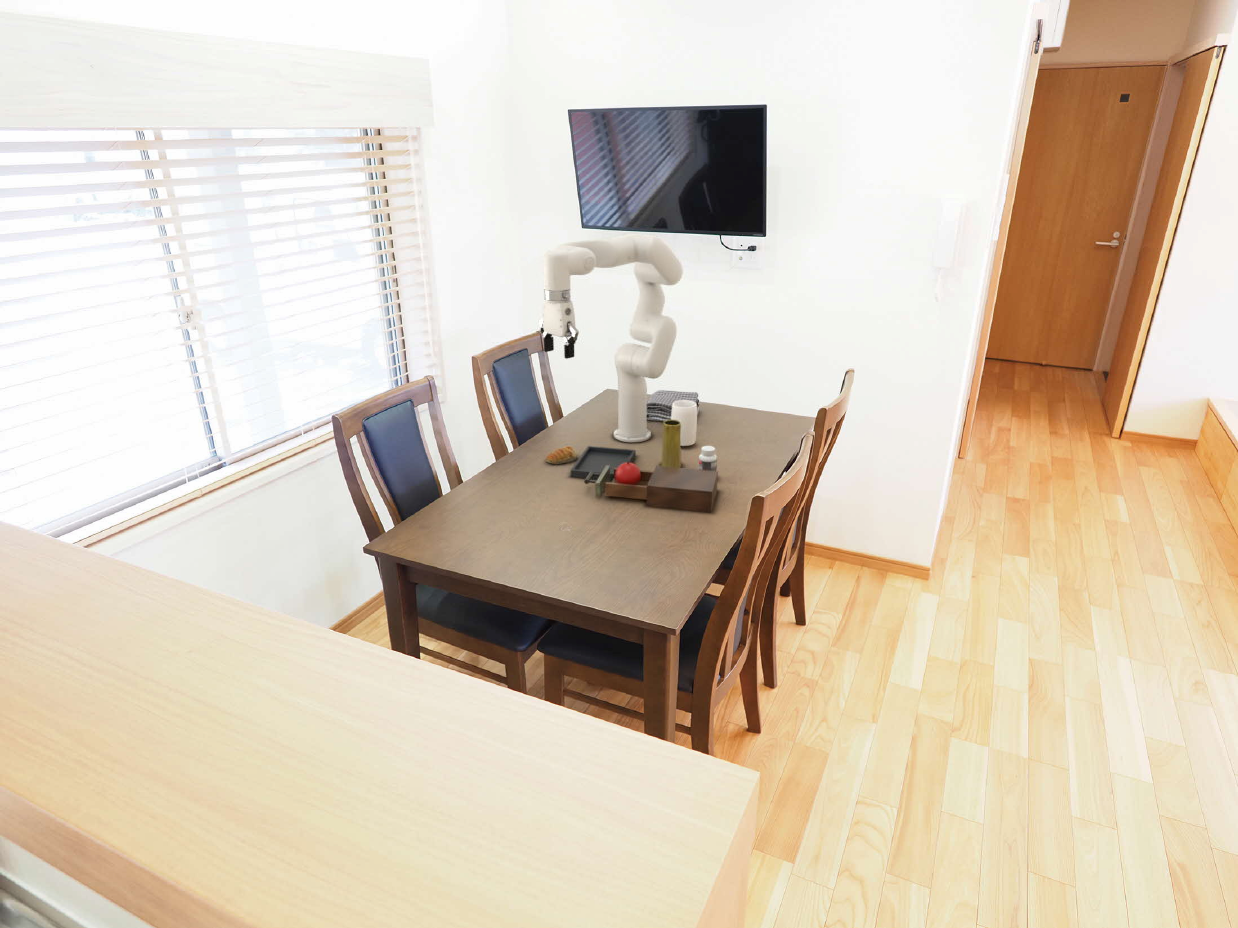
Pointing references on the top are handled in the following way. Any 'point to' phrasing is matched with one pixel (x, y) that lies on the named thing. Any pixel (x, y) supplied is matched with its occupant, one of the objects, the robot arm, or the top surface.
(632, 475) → the apple
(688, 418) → the cup
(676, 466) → the vase
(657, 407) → the towel
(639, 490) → the drawer
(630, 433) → the robot arm
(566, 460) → the pastry
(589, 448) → the tray
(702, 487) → the cabinet
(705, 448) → the pill bottle
